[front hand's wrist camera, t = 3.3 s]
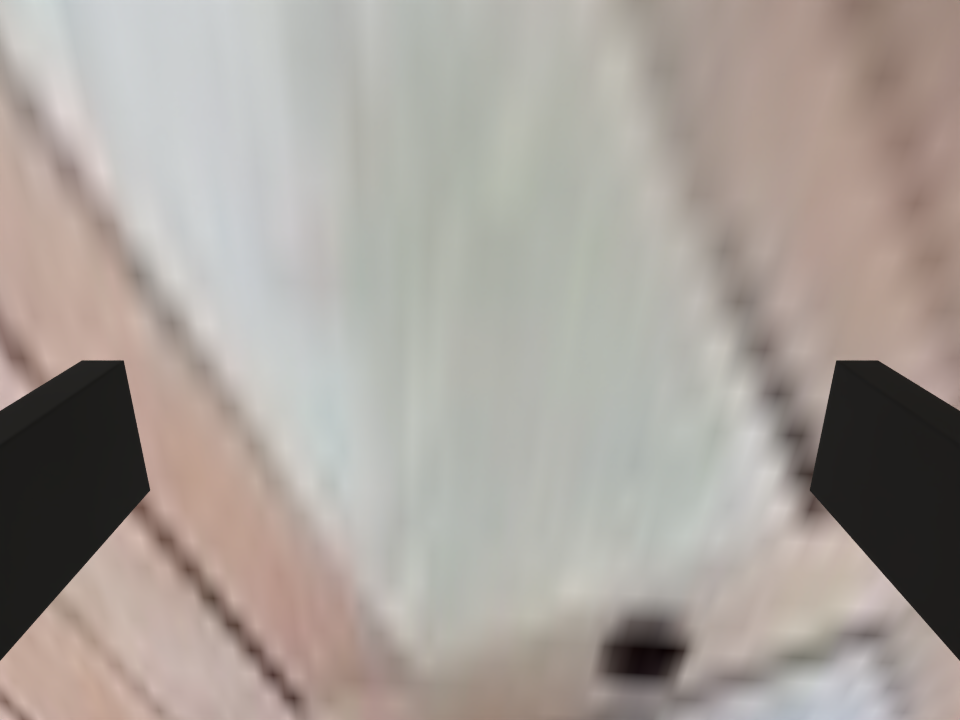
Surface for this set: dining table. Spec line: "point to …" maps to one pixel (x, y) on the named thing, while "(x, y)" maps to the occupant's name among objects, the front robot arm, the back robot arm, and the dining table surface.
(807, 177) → the dining table surface
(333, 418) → the dining table surface
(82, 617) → the dining table surface
